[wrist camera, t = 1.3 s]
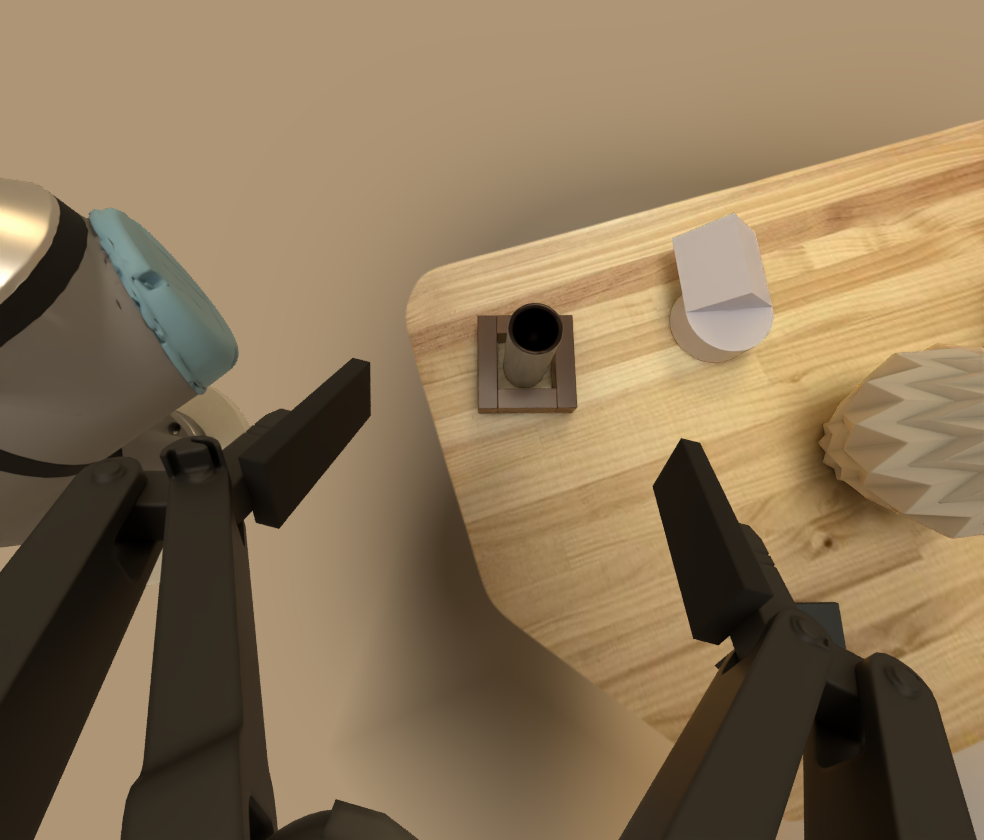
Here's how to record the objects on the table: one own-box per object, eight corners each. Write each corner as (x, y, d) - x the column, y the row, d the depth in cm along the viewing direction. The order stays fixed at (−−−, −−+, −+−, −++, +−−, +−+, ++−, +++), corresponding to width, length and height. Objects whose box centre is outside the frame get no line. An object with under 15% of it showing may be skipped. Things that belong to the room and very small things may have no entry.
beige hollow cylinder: (498, 353, 41) (501, 309, 31) (538, 344, 41) (555, 296, 31) (509, 392, 40) (516, 360, 30) (549, 382, 40) (570, 347, 30)
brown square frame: (478, 413, 40) (477, 408, 37) (478, 325, 41) (477, 315, 39) (571, 412, 40) (577, 407, 37) (567, 325, 42) (572, 314, 39)
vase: (960, 430, 40) (1358, 381, 22) (895, 562, 37) (1283, 632, 19) (822, 345, 41) (1085, 232, 23) (751, 466, 39) (983, 446, 21)
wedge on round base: (658, 257, 43) (677, 365, 41) (688, 215, 37) (713, 341, 34) (734, 252, 43) (758, 359, 41) (779, 209, 37) (810, 334, 34)
